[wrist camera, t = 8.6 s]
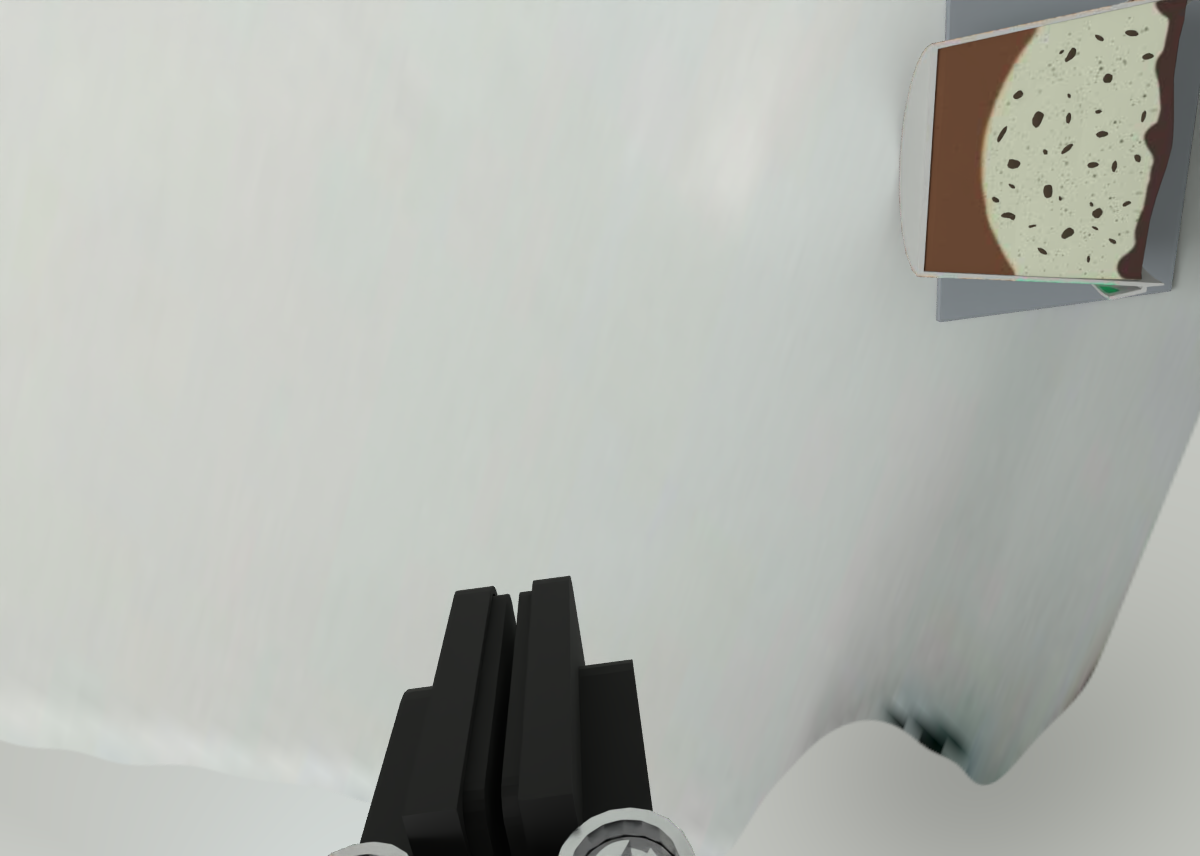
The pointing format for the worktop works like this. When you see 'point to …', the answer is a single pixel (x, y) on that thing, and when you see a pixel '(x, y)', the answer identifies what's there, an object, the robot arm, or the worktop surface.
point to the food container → (1042, 148)
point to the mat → (1002, 3)
